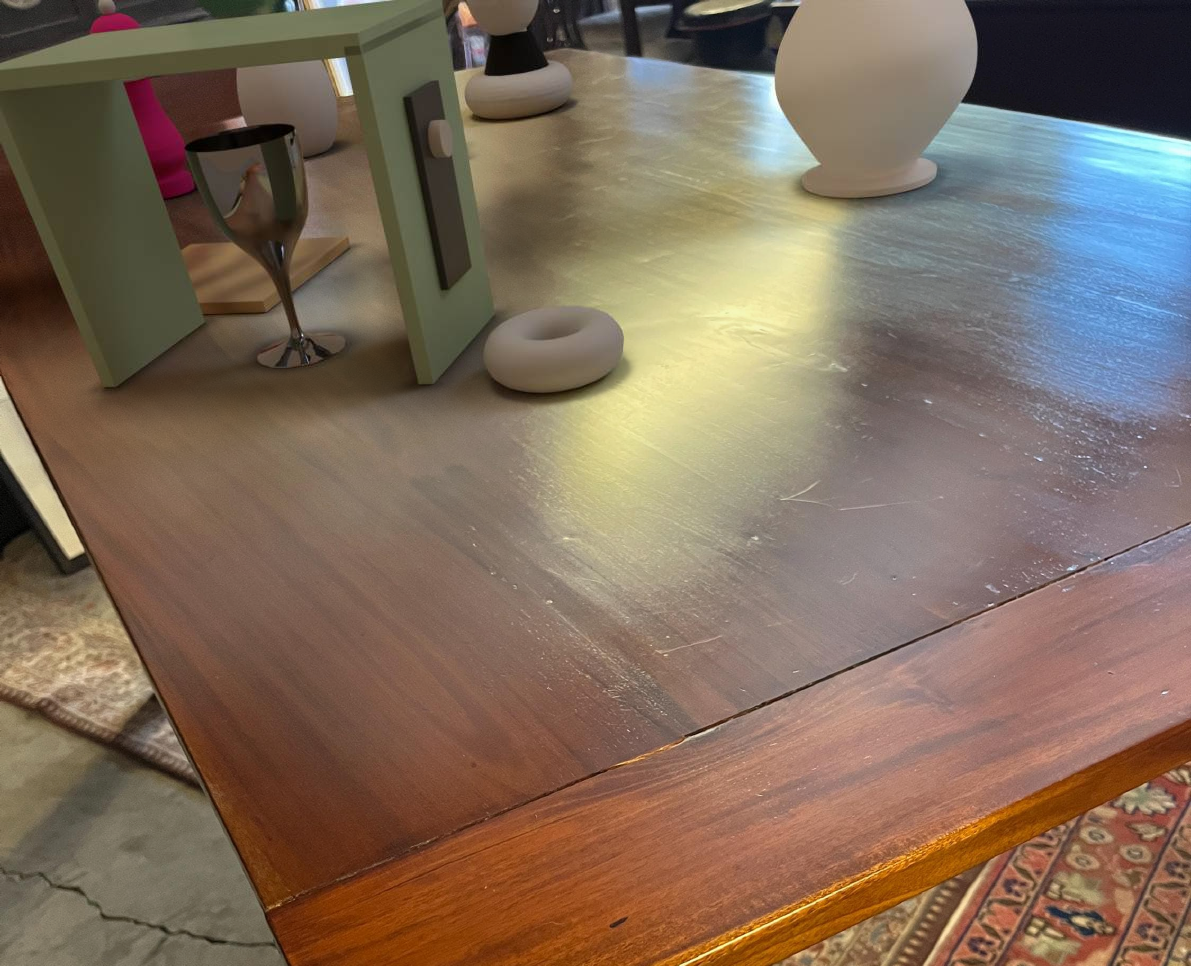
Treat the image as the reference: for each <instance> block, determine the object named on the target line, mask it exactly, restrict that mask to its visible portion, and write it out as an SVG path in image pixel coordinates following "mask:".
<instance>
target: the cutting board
mask: <svg viewBox="0 0 1191 966" xmlns="http://www.w3.org/2000/svg"><path fill="white" fill-rule="evenodd" d="M350 248H351V243H350V239H349V236H330V237H329V236H327V237H307V238H305V237H304V238H299V240H298V242H297V245H296V247H295V249H294V252H293V255H292V259H291V263H290V272H289V276H290V285H291V291H292V293H293V292H294V291H296V290H297V289H298V288H300V287H301V286H302V285H304V284H305V283H306V282H308V281H309V280H311V278H312V277H314V276H315V275H316V274H318V273H319V272H320V271H322V270H323V269H325V268H326V267H327V266H328V265H330V263H332V262H333V261H335V260H336V259H337V258H339V256H341V255H342V254H343V253H345V252H346V251H347V250H349V249H350ZM180 250H181V253H182V256H183V259H184V262H185V264H186V267H187V270H188V273H189V276H190V279H191V282H192V285H193V288H194V291H195V294H196V297H197V299H198V302H199V305H200V308H201V311H202V314H203V315H219V314H223V315H225V314H253V313H254V314H255V313H257V314H258V313H259V314H260V313H268V312H269V311H270V310H271V309H272V308H274V307H275V306H276V305H278V304H279V303H280V302H282V301H281V299H280V296H279V294H278V292H277V289H276V287H275V285H274V283H273V281H272V279H271V277H270V276H269V274H268V273H267V272H266V270H265V269H264V268H263V267H262V266H261V265H260V264H259V263H258V262H257V261H256V260H255V259H253V258H252V257H251V256H249V255H248V254H247V253H246V252H244V251H243V250H242V249H240V248H239V247H238V246H236V245H235V244H234V243H233V242H231V241H229V242H228V241H226V242H225V241H224V242H208V243H207V242H205V243H204V242H203V243H190V244H189V245H187V246H186V247H184V248H183V249H180Z"/></svg>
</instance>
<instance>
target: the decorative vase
mask: <svg viewBox="0 0 1191 966" xmlns="http://www.w3.org/2000/svg"><path fill="white" fill-rule="evenodd" d="M977 63H978V39H977V31H976V26H975V23H974V20H973V17H972V14H971V12H970V10H969V7H968V6H967V4H966V1H965V0H802V1H801V2H800V4H799V6H798V7H797V9H796V11H795V12H794V14H793V16H792V18H791V20H790V22H789V24H788V26H787V27H786V30H785V32H784V34H783V37H782V39H781V42H780V44H779V47H778V52H777V55H776V60H775V66H774V67H775V68H774V91H775V97H776V100H777V102H778V105H779V107H780V109H781V111H782V113H783V115H784V116H785V118H786V120H787V122H788V123H789V124H790V126H791V128H792V129H793V130H794V132H795V133H796V135H797V136H798V137H799V139H800V140H801V142H803V144H804V145H805V147H806V148H807V149H808V150H809V152H810V153H811V154H812V156H813V157H814V159H815V160H816V161H817V162H818V163H819V164H818V165H816V166H813V167H811V168H810V169H808V170H806V172H804V173H803V175H802V177H801V179H802V181H801V182H802V184H801V185H802V188H803V189H804V190H805V191H807V192H809V193H812V194H815V195H818V196H823V197H830V198H843V199H844V198H845V199H847V198H849V199H854V198H855V199H857V198H859V199H860V198H874V197H875V198H876V197H882V196H883V197H884V196H891V195H895V194H900V193H905V192H908V191H912V190H915V189H918V188H921V187H924V186H925V185H928V184H929V183H932V182H933V180H934V179H936V177H937V173H938V172H937V171H938V166H937V164H936V163H935V162H934V161H932V160H931V159H928V158H924V157H921V155H922V154H923V153H924V152H925V150H926V149H927V148H928V147H929V146H930V144H931V143H932V142H933V140H935V138H936V137H937V135H938V134H939V133H940V132H941V130H942V129H943V128H944V126H945V125H946V123H947V122H948V121H949V120H950V118H951V117H952V116H953V114H954V113H955V111H956V110H957V108H958V107H959V105H960V104H961V102H962V101H963V100H964V98H965V96H966V94H967V93H968V91H969V89H970V87H971V85H972V84H973V83H972V82H973V80H974V77H975V73H976V69H977Z"/></svg>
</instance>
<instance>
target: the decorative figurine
mask: <svg viewBox="0 0 1191 966" xmlns="http://www.w3.org/2000/svg"><path fill="white" fill-rule="evenodd" d="M466 6H467V8H468V11H469V13H470V15H471V17H472V18H473V20H474V22H475V23H476V24H477V26H479V27H480V28H481V29H482V30H483V31H484V32H486V33H488V34H489V35H491V36H490V41H489V45H488V52H487V57H486V62H485V66H484V69H482V70H479V71H477V72H476V73H474V74H473V75H472V76H470V78H469V79H468V80H467V82H466V84H465V87H464V101H465V103H466V105H467V107H468V109H469V110H470V111H471V113H473V114H475V116H478V117H479V118H484V119H488V120H510V119H511V120H512V119H518V118H519V119H520V118H527V117H532V116H536V115H541V114H544V113H548V112H551V111H553V110H556V109H557V108H559V107H562V106H563V105H564V104H566V102H567V101H568V100H569V99H570V97H571V95H572V93H573V88H574V80H573V76H572V73H571V71H570V70H569V69H568V67H567V66H565V65H564V64H562V63H560V62H559V61H555V60H549V59H547V57H546V55H545V54H544V51H543V50H542V48H541V45H540V43H539V41H538V40H537V37H536V36H535V34H534V32H533V29H532V28H531V26H530V24H531V23H532V21H533V19H534V18H535V15H536V13H537V10H538V6H539V0H466Z"/></svg>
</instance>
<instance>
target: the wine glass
mask: <svg viewBox="0 0 1191 966" xmlns="http://www.w3.org/2000/svg"><path fill="white" fill-rule="evenodd" d="M184 149H185V153H186V157H187V159H186V161H187V163H188V165H189V169H190V173H191V176H192V177H193V180H194V183H195V185H196V188H197V191H198V193H199V195H200V198H201V199H202V201H203V204H204V206H205V207H206V210H207V211H208V213H209V215H210V217H211V218H212V220H213V222H214V224H215V225H216V227H217V228H218V230H219V232H220V233H221V234H222V235H224V237H225V238H227V240H228V241H229V242H233V243H234V244H235V245H236V246H238V247H239V248H240V249H242V250H243V251H244V252H246V253H247V254H248V255H249V256H251V257H252V258H253V259H255V260H256V261H257V262H258V263H259V264H260V265H261V266H262V267H263V268H264V269H265V270H266V272H267V273H268V274H269V276H270V277H271V279H272V281H273V283H274V285H275V287H276V289H277V292H278V294H279V296H280V299H281V301H280V302H281V303H282V306H283V309H284V312H285V315H286V318H287V322H288V325H289V330H290V336H289V337H288V338H284V339H281V340H279V341H276V342H274V343H272V344H270V345H268V346H266V347H264V349H262V350H261V351H260V352H259V354H258V355H257V362H258V364H260V365H261V366H263V367H267V368H272V369H273V368H274V369H288V368H290V369H291V368H296V367H303V366H307V365H312V364H315V363H318V362H321V361H324V360H326V359H329V358H331V357H333V356H334V355H336V354H338V353H340V351H342V350H343V349H344V348H345V346H346V344H347V342H346V339H345V338H344V337H343V336H342V335H339V334H337V333H330V332H315V333H314V332H313V333H305V332H304V331H303V329H302V327H301V325H300V321H299V319H298V314H297V311H296V307H295V302H294V298H293V292H292V291H291V285H290V276H289V272H290V263H291V259H292V255H293V252H294V249H295V247H296V245H297V242H298V240H299V239H301V235H302V233H303V230H304V229H305V225H306V223H307V219H308V216H309V205H310V203H309V187H308V179H307V171H306V166H305V162H304V158H303V156H302V152H301V147H300V144H299V140H298V136H297V132H296V129H295V127H294V126H293V125H290V124H262V125H254V126H247V125H246V126H242V127H241V126H240V127H235V128H231V129H227V130H222V131H219V132H214V133H211V134H208V135H205V136H202V137H199V138H196V139H193V140H192V141H190V142H189V143H187V144H185V147H184Z"/></svg>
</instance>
